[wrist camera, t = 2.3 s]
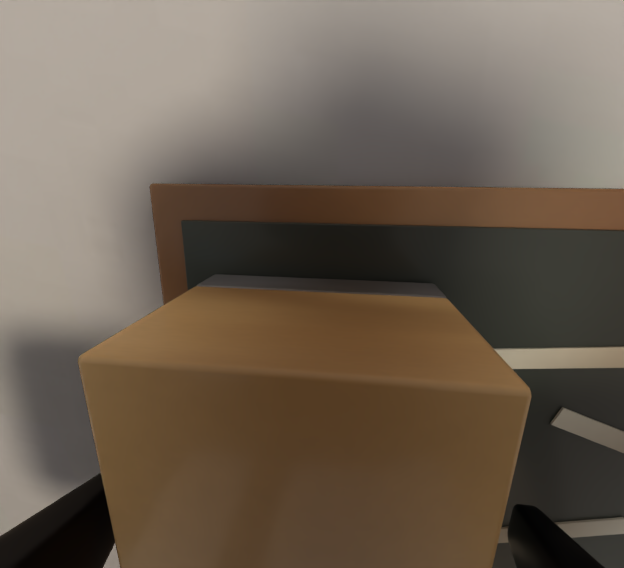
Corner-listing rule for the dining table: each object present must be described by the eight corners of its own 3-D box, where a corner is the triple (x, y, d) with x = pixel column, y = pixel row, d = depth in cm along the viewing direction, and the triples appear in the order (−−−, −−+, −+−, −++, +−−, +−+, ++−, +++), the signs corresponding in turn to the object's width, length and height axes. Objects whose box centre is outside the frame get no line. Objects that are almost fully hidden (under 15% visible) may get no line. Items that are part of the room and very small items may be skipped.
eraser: (235, 577, 10) (167, 806, 6) (213, 273, 8) (72, 356, 4) (396, 601, 10) (426, 866, 6) (435, 282, 7) (538, 389, 3)
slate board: (208, 579, 12) (195, 615, 11) (166, 184, 8) (140, 183, 7) (827, 661, 10) (881, 714, 9) (1156, 196, 6) (1314, 196, 5)
